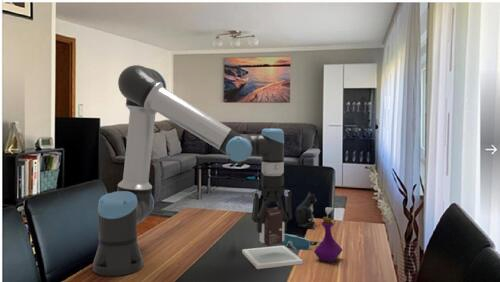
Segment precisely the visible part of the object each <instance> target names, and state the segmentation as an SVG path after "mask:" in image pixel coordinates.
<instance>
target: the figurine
mask: <svg viewBox="0 0 500 282" xmlns="http://www.w3.org/2000/svg"><path fill="white" fill-rule="evenodd" d="M315 194H316V193H313V194H312V193H311V191H308V193H307V196H306V197H305V199H304V200H303V201H302V202H301V203H300V204H298V206H296V209H295V213H294V214H295V221H296V222H297V224H298V225H297V226H298V227H299V228H301V229H309V230H310V229H314V228H315V224H316V222H315V221H314V217H315V215H314V214H313V212H314V204H315V203H316V202H317V199H316V198H317V197H316V196H315Z"/></svg>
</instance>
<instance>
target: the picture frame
mask: <svg viewBox="0 0 500 282" xmlns="http://www.w3.org/2000/svg"><path fill="white" fill-rule="evenodd" d="M241 252H242V254H243V256H244V257H245V258H246V259H247V260H248V261H249V262H250V263H251V264H252V266H254V267H255V269H256V270H260V269H270V268H279V267H286V266H288V267H289V266H294V265H295V266H296V265H303V263H304V262H303V261H304V260H303V259H301V258H300V257H299V256H298V255H297V254H296V253H294V252H293V251H292V250H290V248H288V247H287V246H284V245H276V246H275V245H272V246H265V247H255V248H253V247H252V248H244V249H243V248H242V250H241Z"/></svg>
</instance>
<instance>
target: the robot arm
mask: <svg viewBox="0 0 500 282" xmlns="http://www.w3.org/2000/svg"><path fill="white" fill-rule="evenodd" d="M117 85H118V89H119V91H120V92H119V93H120V94H121V95H122V96H123V97H124V98H125V99H126V100H125V107H126V108H127V109H128V110H129V115H128V116H129V117H128V127H127V136H126V137H127V138H126V147H125V148H126V149H125V155H124V156H125V157H124V167H123V176H122V180H120V182H118V184H117V191H112V192H108V193H106V194H104V195H101V197H100V198H99V200H98V204H97V205H98V206H97V215H98V220H97V221H98V222H97V223H98V246H97V250H96V253H95V256H94V259H93V264H92V271H93V272H94V273H95V274H97V275H100V276H105V277H117V276H124V275H125V276H126V275H130V274H133V273H136V272H138V271H139V270H141V269H142V268H143V266H144V264H143V263H144V257H143V254H142V253H141V252H142V251H141V249H140V247H139V243H138V226H139V224H140V223H142V222H143V221H146V219H147V218H149V216H150V215H151V213H152V211H153V209H154V206H155V200H154V196H153V194H152V192H153V186H152V184H151V183H150V182H149V178H150V170H151V160H152V152H153V151H152V149H153V140H154V132H155V122H156V114H157V113H158V114H159V115H161V116H163V117H164V118H166V119H168V120H170V121H171V122H173V123H174V124H176V125H177V126H179V127H181V128H182V129H184V130H186V131H188V132H190V134H192V135H194V136H196V137H198V138H199V139H200V140H202V141H204V142H205V143H207V144H209V145H210V146H212V147H214V148H215V149H217V150H219V151H220V152H222V153H223V154H225V155H227V157H228V158H229V159H230V160H231V161H233V162H235V163H241V162H244V161H246V160H248V159H249V158H250V157H256V158H257V157H261V170H260V171H261V172H260V173H262V174H261V185H260V186H261V188H260V190H258V191H253V192H252V198H253V204H252V211H251V221H252V222H253V223H256V231H257V233H258V234H259V242H260V243H261V244H262V243H264V223H263V219H264V216H265V213H266V210H267V208H269V207H268V206H269V205H270V203H273V202H275V203H276V207H277V208H279V209H280V210H283V216H282V241H284V234H285V231H287V229H288V227H287V226H288V222H289V221H291V220H292V219H293V210H292V194H293V192H292V191H291V190H289V189H285V188H284V182H285V178H284V174H285V173H284V171H285V167H284V166H285V133H284V130H283V129H282V128H263V129H261V133H259V134H253V133H251V134H250V133H249V134H247V133H239V132H237V131H236V130H233V129H232V128H230V127H229V126H227V125H225V124H224V123H223V122H220V120H219V121H218V119H216V118H214V117H212V116H210V115H209V114H208V113H206V112H204V111H202V110H201V109H199V108H198V107H196V106H194V105H193V104H191V103H190V102H188V101H186V100H184V99H183V98H181V97H180V96H178V95H176V94H175V93H173V92H171V91H170V90H168V89H167V83H166V81H165V78H164V76H162V74H161V73H160V72H159V71H157V70H155V69H153V68H150V67H146V66H142V65H139V64H138V65H137V64H136V65H135V64H134V65H130V66H127V67H126V68H124V69H123V70H122V71H121V73H120V74H119V77H118V81H117ZM261 196H262V201H261V202H262V203H261V207H260V198H261ZM283 196H284V203H285V207H284V204H283V200H282V197H283ZM259 208H260V209H259Z"/></svg>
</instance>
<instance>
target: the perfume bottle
mask: <svg viewBox="0 0 500 282" xmlns="http://www.w3.org/2000/svg"><path fill="white" fill-rule="evenodd" d="M324 209H325V210H324V211H325V213H326V215H327V216H323V217H322V220H323V221H321V222H320V224H321V225H322V226H323V228H324V230H325V231H324V232H325V233H324V236H323V239H322V240H321V241H322V242H321V243H320V244H319V245H318V246H317V247H316V248H315V249H314V250H313V253H314V254H315V256H316V257H317V258H318V260H320V262H325V263H330V264H331V263H334V262H335V261H336V259H338V257H339V255H340V254H341V253H342V251H343V248H342V247H341V246H340V245H339V244H338V242H337V241H336V239H334V237H333V235H332V231H331V230H332V229H331V228H332V227H333V226H334V222H333V220H332V218H331V217H329V215H330V214H331V213H333V212H334V210H335V208H333V207H331V206H330V207H328V206H327V207H325V208H324Z"/></svg>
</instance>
